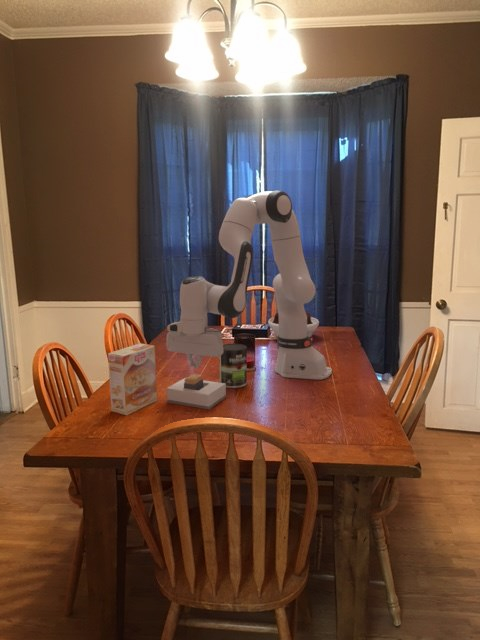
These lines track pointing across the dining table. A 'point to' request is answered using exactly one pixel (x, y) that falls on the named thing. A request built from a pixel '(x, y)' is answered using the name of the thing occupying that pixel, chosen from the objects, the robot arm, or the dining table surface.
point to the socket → (197, 394)
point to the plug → (194, 382)
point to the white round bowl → (311, 324)
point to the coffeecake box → (132, 378)
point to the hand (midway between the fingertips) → (195, 366)
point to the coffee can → (233, 365)
